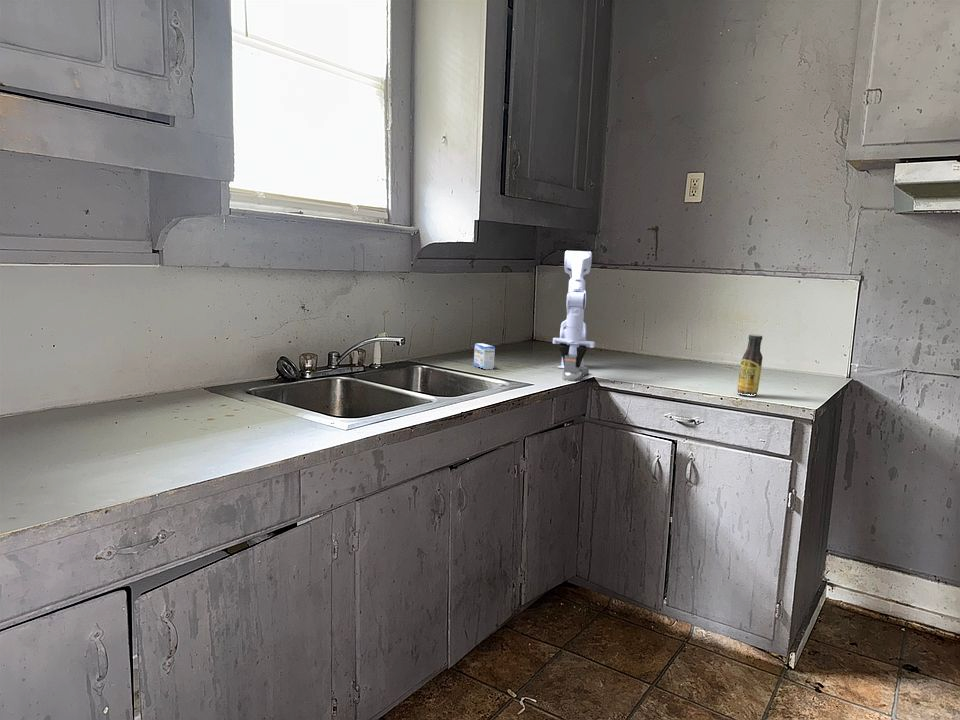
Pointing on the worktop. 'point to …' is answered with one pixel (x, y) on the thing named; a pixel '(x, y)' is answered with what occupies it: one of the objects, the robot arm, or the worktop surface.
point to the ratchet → (575, 376)
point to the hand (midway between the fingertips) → (571, 366)
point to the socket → (570, 364)
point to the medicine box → (484, 356)
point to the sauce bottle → (751, 366)
